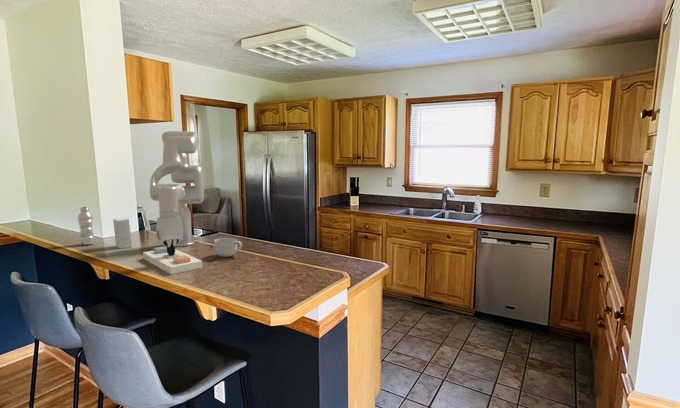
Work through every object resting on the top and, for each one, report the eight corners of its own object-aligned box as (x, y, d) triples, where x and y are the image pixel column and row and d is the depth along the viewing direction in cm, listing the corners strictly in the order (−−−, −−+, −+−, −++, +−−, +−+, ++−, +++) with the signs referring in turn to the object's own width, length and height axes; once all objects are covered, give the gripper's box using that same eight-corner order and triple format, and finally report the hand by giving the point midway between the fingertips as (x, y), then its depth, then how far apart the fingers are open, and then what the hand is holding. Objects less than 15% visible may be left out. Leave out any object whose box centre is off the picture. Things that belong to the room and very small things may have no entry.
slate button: (165, 250, 171) (165, 246, 171) (169, 252, 168) (169, 248, 168) (154, 252, 168) (153, 248, 168) (158, 254, 164) (157, 250, 164)
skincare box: (132, 247, 188) (130, 219, 186) (118, 249, 183) (116, 220, 182) (127, 244, 194) (125, 217, 192) (114, 246, 189) (112, 218, 188)
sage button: (174, 257, 164) (174, 253, 164) (179, 259, 161) (179, 255, 160) (163, 259, 161) (163, 255, 160) (167, 261, 157) (167, 257, 157)
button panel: (172, 253, 176) (171, 247, 176) (202, 267, 155) (202, 260, 154) (143, 258, 167) (142, 252, 167) (171, 274, 145) (170, 267, 145)
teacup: (209, 256, 172) (208, 240, 171) (226, 251, 181) (225, 235, 180) (231, 260, 165) (230, 243, 164) (247, 255, 175) (247, 239, 174)
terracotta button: (185, 259, 156) (184, 255, 156) (190, 262, 153) (190, 257, 153) (173, 262, 153) (173, 257, 153) (178, 264, 149) (178, 259, 149)
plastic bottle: (87, 246, 188) (84, 208, 186) (76, 245, 190) (73, 208, 187) (98, 243, 195) (95, 206, 192) (87, 242, 196) (84, 206, 193)
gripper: (182, 211, 166) (184, 250, 168) (147, 215, 155) (150, 256, 158) (189, 213, 161) (191, 253, 163) (154, 217, 150) (156, 259, 153)
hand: (171, 254), depth 160 cm, fingers closed
